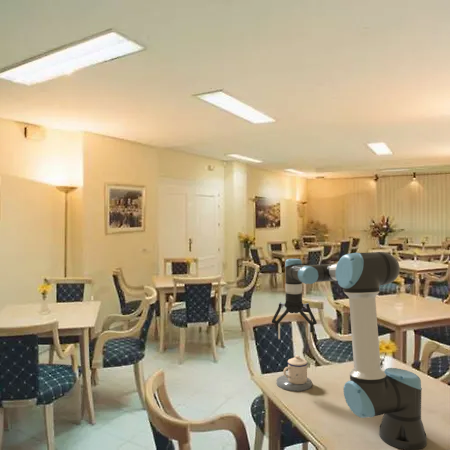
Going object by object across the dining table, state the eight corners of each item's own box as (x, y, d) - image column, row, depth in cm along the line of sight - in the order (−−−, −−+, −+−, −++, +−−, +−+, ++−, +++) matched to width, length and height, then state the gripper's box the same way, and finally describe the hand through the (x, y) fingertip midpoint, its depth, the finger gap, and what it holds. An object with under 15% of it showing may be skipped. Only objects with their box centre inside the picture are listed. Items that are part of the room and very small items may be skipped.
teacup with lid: (300, 375, 195) (299, 351, 194) (311, 382, 186) (311, 357, 186) (278, 380, 190) (278, 355, 189) (289, 387, 181) (289, 361, 181)
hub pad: (318, 387, 184) (318, 385, 184) (287, 393, 178) (287, 390, 178) (299, 375, 199) (299, 372, 199) (270, 380, 193) (270, 377, 193)
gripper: (321, 291, 189) (321, 337, 189) (266, 290, 193) (267, 335, 193) (322, 294, 182) (322, 342, 182) (266, 293, 186) (266, 340, 186)
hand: (294, 338), depth 188 cm, fingers open, 13 cm apart
